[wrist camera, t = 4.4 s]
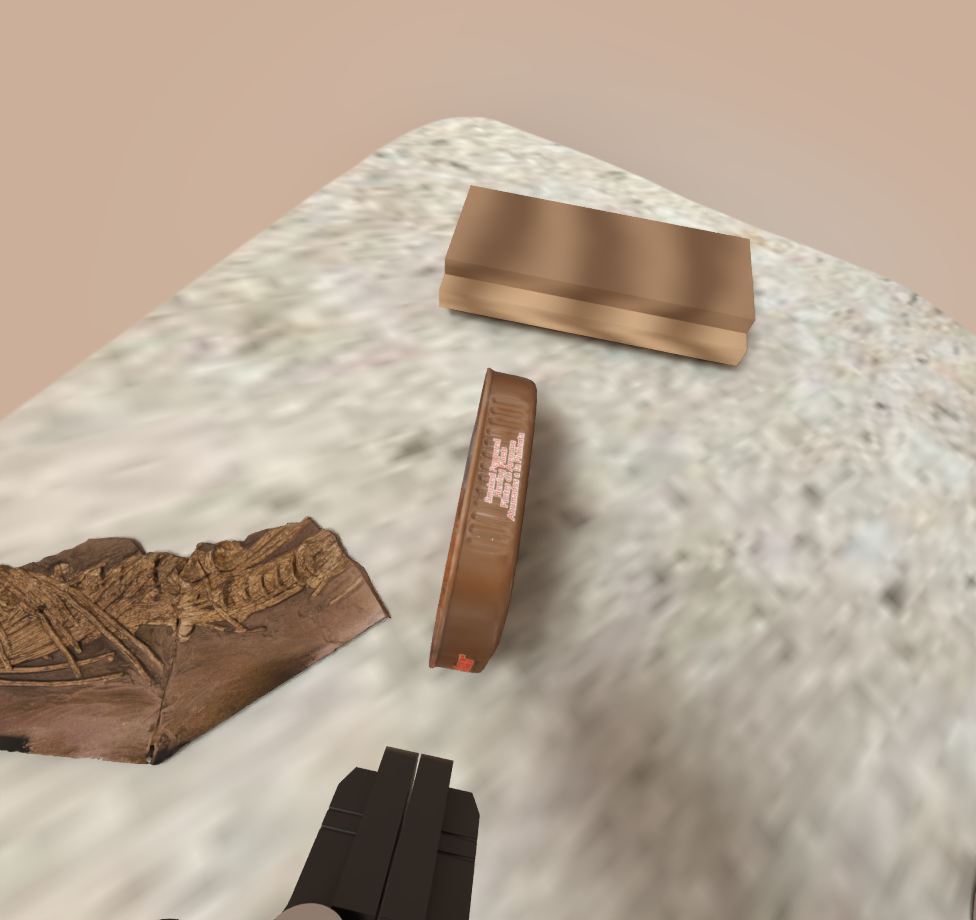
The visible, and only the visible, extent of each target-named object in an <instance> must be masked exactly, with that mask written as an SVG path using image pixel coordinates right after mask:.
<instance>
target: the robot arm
mask: <svg viewBox="0 0 976 920" xmlns="http://www.w3.org/2000/svg"><path fill="white" fill-rule="evenodd" d="M418 756H419V753H415V752H411V751H406V750H402V749H397V748H393V747H388V746H387V747H386V749H385V752H384V755H383V758H382V760H381V763H380V766H379V769H378V772H376V771H371V770H367V769H362V768H358V767H356V768H355V769H354V770H353V771H352V772H351V773H350V774H349V775H347V776H346V777H345V778H344V779H343V780H342V781H341V782H340V783H339V785H338V787H337V789H336V792H335V794H334V796H333V799H332V801H331V804H330V806H329V810H328V811H327V813H326V815H325V818H324V820H323V823H322V826H321V829H320V830H319V832H318V835H317V837H316V839H315V842H314V844H313V846H312V849H311V851H310V854H309V856H308V858H307V861H306V863H305V865H304V868H303V870H302V873H301V875H300V877H299V880H298V882H297V885H296V887H295V889H294V892H293V894H292V896H291V899H290V901H289V903H288V905H287V906H286V908H285V909H284V911H283V912H282V913H281V914H280V915H279V916H277V917H276V918H275V919H274V920H469V913H470V904H471V894H472V885H473V875H474V866H475V856H476V846H477V837H478V827H479V818H480V814H479V811H478V808H477V805H476V802H475V799H474V797H473V794H472V793H471V792H466V791H462V790H457V789H453V788H449V784H450V778H451V772H452V767H453V761H452V760H448V759H443V758H439V757H434V756H430V755H425V754H421V758H420V761H419V765H418V769H417V773H416V777H415V772H416V767H417V762H418ZM414 777H415V781H414ZM413 782H414V785H413ZM412 787H413V789H412ZM411 792H412V793H411ZM161 920H178V919H161ZM973 920H976V893H975V900H974V914H973Z"/></svg>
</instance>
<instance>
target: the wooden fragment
mask: <svg viewBox="0 0 976 920" xmlns="http://www.w3.org/2000/svg"><path fill="white" fill-rule="evenodd" d="M384 617H389V618H390V616H389V615H388V613H387V612H386V611H385V609H384V607H383V605H382V603H381V602H380V600H379V598H378V596H377V594H376V592H375V591H374V589H373V586H372V584H371V582H370V579H369V576H368V574H367V572H366V570H365V569H364V567H362V566H361V565H360V564H359V563H357V562H355V561H353V560H351V559H350V558H348V557H347V556H346V555H345V554H344V553H343V551H342V549H341V548H340V546H339V544H338V541H337V539H336V537H335V536H334V535H333V534H332V533H331V532H330V531H328V530H325V529H323V530H319V529H318V528H317V527H316V526H315V525H314V524H313V522H312V521H311V520H310V519H309V518H308V517H305V518H304V519H303V520H302V522H301V523H287V524H286V525H285V526H281V527H277V528H273V529H266V530H262V531H259V532H255V533H253V534H251V535H249V536H248V537H247V538H246V540H245V541H241V542H238V541H233V542H230V541H228V540H226V541H221V542H219V543H216V544H209V543H198V544H197V549H196V550H195V551H194V552H193V553H192V554H191V556H190V558H185V557H175V556H173V555H170V554H168V553H166V552H160V553H154V552H149V553H147V554H145V553H144V552H142V551H141V550H140V549H139V548H138V547H137V546H136V545H135V544H133V542H132V541H131V540H130V539H128V538H102V539H88V540H87V541H86V542H85V543H82V544H80V545H78V546H76V547H74V548H73V549H69V550H64V551H62V552H60V553H58V554H57V555H54V556H48V557H45V558H44V559H42V560H41V561H40V562H37V563H35V562H32V563H29V564H26V565H24V566H22V567H18V568H14V569H12V568H10V567H8V566H5V565H0V750H7V751H9V752H21V753H28V754H41V755H52V756H61V757H71V758H87V757H89V758H91V759H94V758H97V759H98V760H99V759H101V758H103V760H104V761H112V762H123V763H134V764H151V765H158V764H160V763H162V762H163V761H164V760H166V759H167V758H168V757H170V756H172V755H173V754H174V753H175V752H176V751H177V750H179V747H181V746H183V745H185V744H188V743H189V742H191V741H192V740H194V739H195V738H197V737H199V736H200V735H202V734H203V733H205V732H206V731H207V730H209V729H210V728H213V727H214V726H215V725H217V724H218V723H220V722H222V721H224V720H225V719H227V718H228V717H230V716H232V715H233V714H235V713H236V712H238V711H239V710H241V709H242V708H243V707H245V706H246V705H249V704H250V703H252V702H253V701H255V700H256V699H258V698H259V697H261V696H263V695H265V694H266V693H268V692H269V691H271V690H272V689H274V688H275V687H277V686H278V685H280V684H282V683H284V682H285V681H287V680H288V679H290V678H291V677H293V676H294V675H296V674H298V673H300V672H302V671H303V670H304V669H305V668H306V667H308V666H310V665H312V664H314V663H315V662H317V661H318V660H319V659H320V658H321V657H324V656H325V655H329V654H330V653H331V652H333V651H334V649H335V648H339V647H340V646H342V645H344V644H345V643H346V642H348V641H349V640H351V639H353V638H354V637H356V636H357V635H358V634H360V633H362V632H363V631H364V630H366V629H367V628H368V627H369V626H372V625H373V624H375V623H376V622H378V621H379V620H381V619H382V618H384ZM150 745H154V747H155V749H154V752H153V755H151V756H150V757H152V760H151V762H150V763H148V762H147V761H146V759H147V756H148V752H149V750H150Z"/></svg>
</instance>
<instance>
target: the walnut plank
mask: <svg viewBox="0 0 976 920" xmlns="http://www.w3.org/2000/svg"><path fill="white" fill-rule="evenodd" d="M439 307H444V308H449V309H454V310H459V311H464V312H469V313H474V314H479V315H484V316H489V317H494V318H499V319H504V320H509V321H514V322H519V323H524V324H529V325H534V326H539V327H544V328H549V329H554V330H559V331H564V332H569V333H574V334H579V335H584V336H589V337H594V338H599V339H604V340H609V341H614V342H619V343H624V344H629V345H634V346H639V347H644V348H649V349H654V350H659V351H664V352H669V353H674V354H679V355H684V356H689V357H694V358H699V359H704V360H709V361H714V362H719V363H724V364H729V365H734V366H737V365H738V363H739V362H740V360H741V359H742V357H743V356H744V354H745V353H746V352H747V340H746V333H747V332H748V330H749V329H750V327H751V325H752V324H753V322H754V321H755V308H754V295H753V281H752V267H751V253H750V239H746V238H741V237H736V236H730V235H725V234H720V233H715V232H710V231H705V230H699V229H694V228H689V227H684V226H679V225H673V224H668V223H663V222H658V221H653V220H648V219H642V218H637V217H632V216H627V215H622V214H617V213H611V212H606V211H601V210H596V209H591V208H585V207H580V206H575V205H570V204H565V203H560V202H554V201H549V200H544V199H539V198H534V197H529V196H523V195H518V194H513V193H508V192H503V191H497V190H492V189H487V188H482V187H477V186H472V185H471V186H470V189H469V192H468V195H467V198H466V201H465V203H464V206H463V209H462V212H461V215H460V218H459V220H458V223H457V226H456V229H455V232H454V235H453V237H452V240H451V243H450V246H449V249H448V252H447V254H446V257H445V275H444V278H443V280H442V283H441V286H440V289H439Z"/></svg>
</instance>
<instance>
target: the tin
mask: <svg viewBox="0 0 976 920" xmlns="http://www.w3.org/2000/svg"><path fill="white" fill-rule="evenodd" d="M536 404H537V389H536V385H535V383H534V382H533V381H532V380H529V379H527V378H523V377H519V376H515V375H510V374H505V373H500V372H496V371H493V370H492V369H491V368H487V373H486V376H485V381H484V385H483V389H482V393H481V399H480V404H479V408H478V413H477V418H476V422H475V426H474V430H473V434H472V438H471V442H470V447H469V452H468V457H467V462H466V467H465V474H464V478H463V483H462V488H461V492H460V498H459V503H458V508H457V513H456V518H455V523H454V528H453V533H452V539H451V543H450V548H449V554H448V558H447V563H446V568H445V573H444V578H443V584H442V589H441V594H440V599H439V604H438V609H437V616H436V622H435V627H434V632H433V638H432V644H431V651H430V659H429V667H430V668H434V667H443V668H449V669H454V670H459V671H464V672H471V673H479V672H481V671H482V670H483V669H484V668H485V666H486V664H487V662H488V661H489V659H490V658H491V657H492V655H493V654H494V652H495V650H496V648H497V646H498V644H499V641H500V638H501V635H502V631H503V627H504V624H505V619H506V615H507V611H508V607H509V603H510V598H511V593H512V588H513V582H514V576H515V570H516V564H517V558H518V552H519V544H520V537H521V530H522V521H523V515H524V508H525V500H526V492H527V484H528V476H529V468H530V460H531V451H532V443H533V434H534V424H535V416H536Z"/></svg>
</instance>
